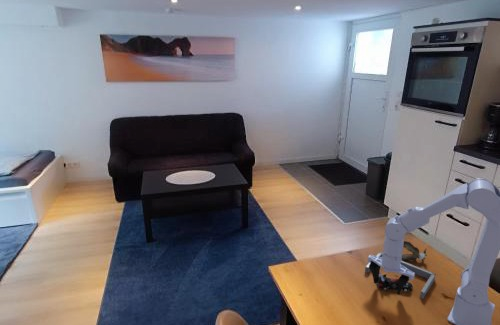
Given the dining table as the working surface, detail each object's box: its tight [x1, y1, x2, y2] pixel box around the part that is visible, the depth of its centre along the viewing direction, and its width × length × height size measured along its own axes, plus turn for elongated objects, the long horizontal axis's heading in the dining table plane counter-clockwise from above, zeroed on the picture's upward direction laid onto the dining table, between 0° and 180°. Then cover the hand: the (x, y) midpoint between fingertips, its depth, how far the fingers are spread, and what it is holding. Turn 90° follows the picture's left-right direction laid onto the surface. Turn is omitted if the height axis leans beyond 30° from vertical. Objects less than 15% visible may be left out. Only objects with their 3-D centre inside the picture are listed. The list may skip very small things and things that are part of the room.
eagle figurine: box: [401, 240, 428, 263], centre depth 121 cm, size 8×7×9 cm
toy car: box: [376, 272, 414, 293], centre depth 106 cm, size 6×12×4 cm, turn 82°
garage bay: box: [364, 251, 436, 299], centre depth 111 cm, size 20×13×2 cm, turn 45°
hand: (387, 287), depth 103 cm, fingers open, 7 cm apart
